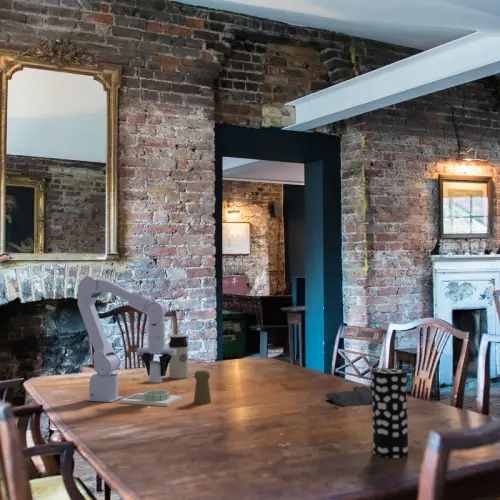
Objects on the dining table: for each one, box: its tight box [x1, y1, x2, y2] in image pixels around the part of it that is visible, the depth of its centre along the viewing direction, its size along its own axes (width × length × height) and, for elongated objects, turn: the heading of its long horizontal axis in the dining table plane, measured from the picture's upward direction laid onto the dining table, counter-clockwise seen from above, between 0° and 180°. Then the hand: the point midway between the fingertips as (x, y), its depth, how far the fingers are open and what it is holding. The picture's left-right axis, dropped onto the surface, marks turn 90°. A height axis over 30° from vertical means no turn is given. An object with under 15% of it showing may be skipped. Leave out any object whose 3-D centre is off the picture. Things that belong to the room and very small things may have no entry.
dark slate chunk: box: [325, 385, 373, 408], centre depth 209 cm, size 15×22×5 cm
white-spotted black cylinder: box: [371, 367, 409, 459], centre depth 149 cm, size 8×8×20 cm
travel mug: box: [168, 333, 189, 380], centre depth 258 cm, size 8×8×18 cm
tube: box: [148, 360, 163, 383], centre depth 210 cm, size 5×5×7 cm
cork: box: [193, 369, 212, 405], centre depth 208 cm, size 6×6×11 cm
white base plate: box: [119, 389, 184, 407], centre depth 211 cm, size 18×12×3 cm, turn 70°
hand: (156, 375), depth 211 cm, fingers closed on tube, 5 cm apart
